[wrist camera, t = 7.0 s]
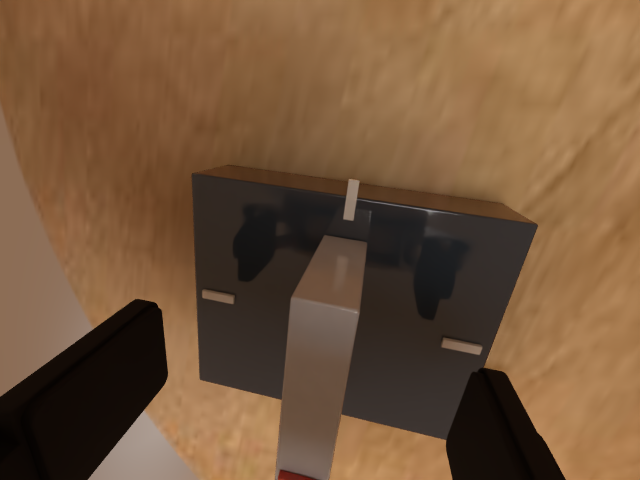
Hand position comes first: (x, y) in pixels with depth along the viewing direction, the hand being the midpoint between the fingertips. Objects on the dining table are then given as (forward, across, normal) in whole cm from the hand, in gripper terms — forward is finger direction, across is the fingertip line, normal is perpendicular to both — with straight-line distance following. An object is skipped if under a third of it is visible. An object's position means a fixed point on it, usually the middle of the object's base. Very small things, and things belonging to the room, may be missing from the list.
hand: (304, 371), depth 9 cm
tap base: (+6, -1, 0) cm, 6 cm away
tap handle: (+3, -1, 0) cm, 3 cm away
